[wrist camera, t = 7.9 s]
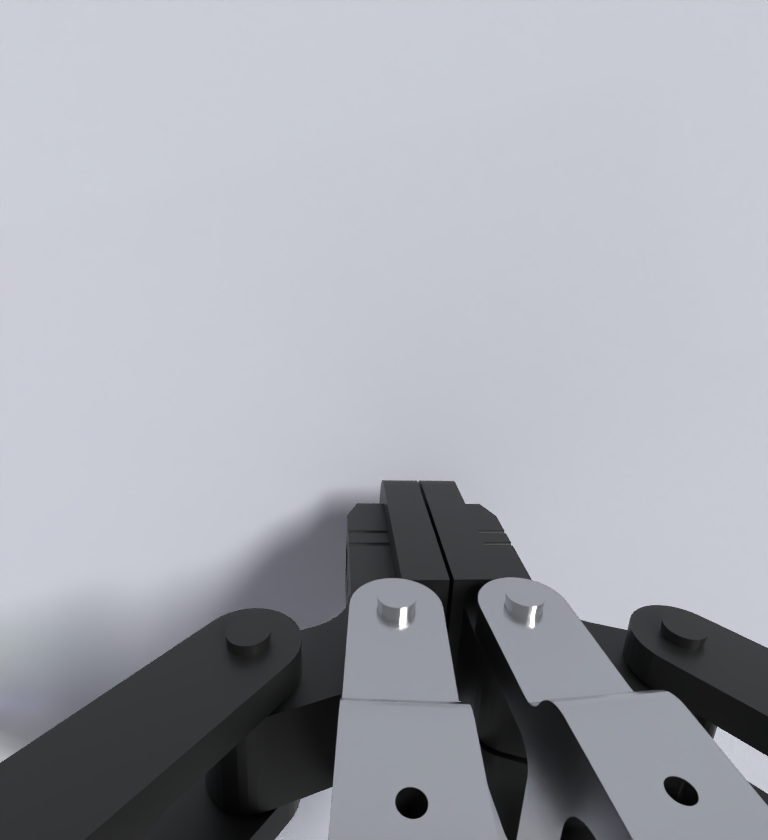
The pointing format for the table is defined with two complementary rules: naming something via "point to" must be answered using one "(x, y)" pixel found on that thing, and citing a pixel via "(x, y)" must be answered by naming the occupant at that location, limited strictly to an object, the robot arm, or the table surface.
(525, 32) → the table surface
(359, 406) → the table surface
